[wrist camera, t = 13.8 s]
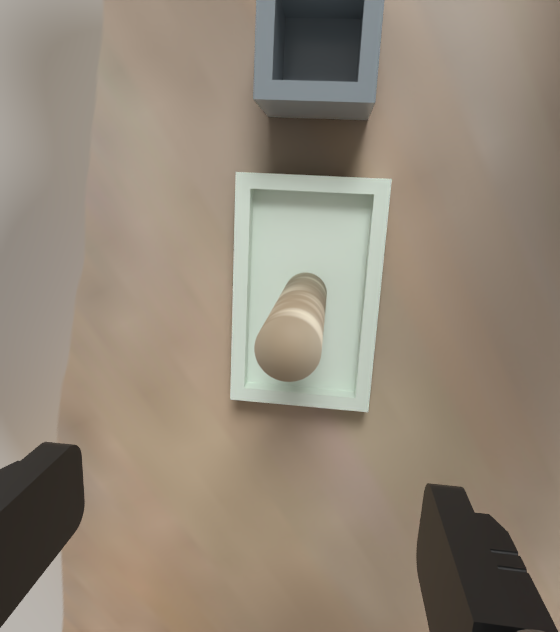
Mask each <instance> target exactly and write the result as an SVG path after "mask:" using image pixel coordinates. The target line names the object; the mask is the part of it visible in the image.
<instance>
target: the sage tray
mask: <svg viewBox="0 0 560 632" xmlns="http://www.w3.org/2000/svg"><path fill="white" fill-rule="evenodd" d="M391 182H392V179H382V178H359V177H337V176H315V175H293V174H270V173H248V172H236V183H235V225H234V266H233V308H232V349H231V391H230V400H241V401H252V402H263V403H274V404H284V405H295V406H306V407H317V408H328V409H339V410H350V411H360V412H368V409H369V399H370V389H371V380H372V370H373V360H374V350H375V340H376V330H377V320H378V310H379V300H380V290H381V281H382V271H383V261H384V251H385V241H386V231H387V221H388V211H389V201H390V191H391ZM299 273H312V274H315V275H316V276H318V277H319V278H320V279H321V280H322V281H323V282H324V284H325V286H326V289H327V299H326V310H325V321H324V331H323V342H322V353H321V359H320V362H319V364H318V366H317V367H316V369H315V370H314V371H313V372H312V373H311V374H310V375H309V376H307V377H306V378H304V379H302V380H299V381H294V382H284V381H279V380H276V379H274V378H272V377H270V376H269V375H267V374H266V373H265V372H264V371H263V370H262V369H261V367H260V366H259V364H258V362H257V360H256V357H255V352H254V346H255V340H256V337H257V335H258V333H259V331H260V330H261V328H262V326H263V324H264V323H265V321H266V319H267V317H268V316H269V314H270V312H271V310H272V309H273V307H274V305H275V303H276V302H277V300H278V298H279V296H280V295H281V293H282V291H283V289H284V288H285V286H286V284H287V282H288V281H289V280H290V279H291V278H292V277H293V276H295V275H296V274H299Z"/></svg>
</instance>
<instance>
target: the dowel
mask: <svg viewBox="0 0 560 632" xmlns="http://www.w3.org/2000/svg"><path fill="white" fill-rule="evenodd" d="M326 299H327V289H326V286H325V284H324V282H323V281H322V280H321V279H320V278H319V277H318V276H316V275H315V274H312V273H299V274H296V275H295V276H293V277H292V278H291V279H290V280H289V281H288V282H287V284H286V286H285V288H284V289H283V291H282V293H281V295H280V296H279V298H278V300H277V302H276V303H275V305H274V307H273V309H272V310H271V312H270V314H269V316H268V317H267V319H266V321H265V323H264V324H263V326H262V328H261V330H260V331H259V333H258V335H257V337H256V340H255V346H254V352H255V357H256V360H257V362H258V364H259V366H260V367H261V369H262V370H263V371H264V372H265V373H266V374H267V375H269V376H270V377H272V378H274V379H276V380H279V381H284V382H294V381H299V380H302V379H304V378H306V377H307V376H309V375H310V374H311V373H312V372H313V371H314V370H315V369H316V367H317V366H318V364H319V362H320V359H321V353H322V342H323V331H324V321H325V310H326Z"/></svg>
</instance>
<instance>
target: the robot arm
mask: <svg viewBox="0 0 560 632" xmlns="http://www.w3.org/2000/svg"><path fill="white" fill-rule="evenodd" d="M84 504H85V503H84V485H83V470H82V455H81V450H80V448H79V447H78V446H77V445H71V444H61V443H52V442H44V443H42V444H40V445H39V446H38V447H37V448H35V450H33V451H32V452H31V453H29V454H28V455H27V456H26V457H25V458H24V459H22V460H21V461H16V462H14V463H12V464H10V465H8V466H6V467H4V468H2V469H0V627H1V626H2V625H3V624H4V622H5V621H6V620H7V619H8V617H9V616H10V615H11V613H12V612H13V611H14V610H15V608H16V607H17V606H18V604H19V603H20V602H21V601H22V599H23V598H24V597H25V595H26V594H27V593H28V592H29V590H30V589H31V588H32V586H33V585H34V584H35V583H36V581H37V580H38V579H39V577H40V576H41V575H42V574H43V573H44V571H45V570H46V568H47V567H48V566H49V565H50V564H51V562H52V561H53V560H54V558H55V557H56V556H57V555H58V553H59V552H60V551H61V550H62V548H63V547H64V546H65V544H66V543H67V542H68V541H69V539H70V538H71V537H72V535H73V534H74V533H75V531H76V530H77V528H78V527H79V524H80V522H81V519H82V516H83V512H84ZM417 572H418V578H419V583H420V587H421V592H422V597H423V602H424V606H425V611H426V616H427V620H428V625H429V630H430V632H558V630H557V628H556V626H555V624H554V622H553V620H552V618H551V616H550V614H549V612H548V610H547V608H546V606H545V604H544V602H543V601H542V599H541V597H540V595H539V593H538V591H537V589H536V587H535V585H534V583H533V581H532V579H531V577H530V575H529V573H527V571H526V567H525V565H524V563H523V561H522V559H521V557H520V556H518V551H517V549H516V547H515V545H514V543H513V541H512V539H511V537H510V535H509V533H508V532H507V531H506V530H505V529H504V528H503V527H502V526H501V525H500V524H499V523H498V522H497V521H496V520H495V519H494V518H493V517H492V516H490V515H489V514H482V513H474V510H473V508H472V506H471V503H470V501H469V499H468V496H467V494H466V492H465V490H464V488H463V487H457V486H448V485H438V484H429V483H428V484H427V485H426V487H425V491H424V497H423V504H422V511H421V519H420V526H419V533H418V540H417Z"/></svg>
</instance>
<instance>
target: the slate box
mask: <svg viewBox="0 0 560 632" xmlns="http://www.w3.org/2000/svg"><path fill="white" fill-rule="evenodd" d="M383 10H384V0H256V28H255V60H254V92H253V99H254V101H255V102H256V103H257V104H258V105H259V107H260V108H261V109H262V110H263V111H264V113H265V114H266V115H267V116H268V117H284V118H314V119H344V120H368V119H369V116H370V114H371V112H372V109H373V107H374V104H375V99H376V88H377V77H378V65H379V54H380V43H381V32H382V21H383Z"/></svg>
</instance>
